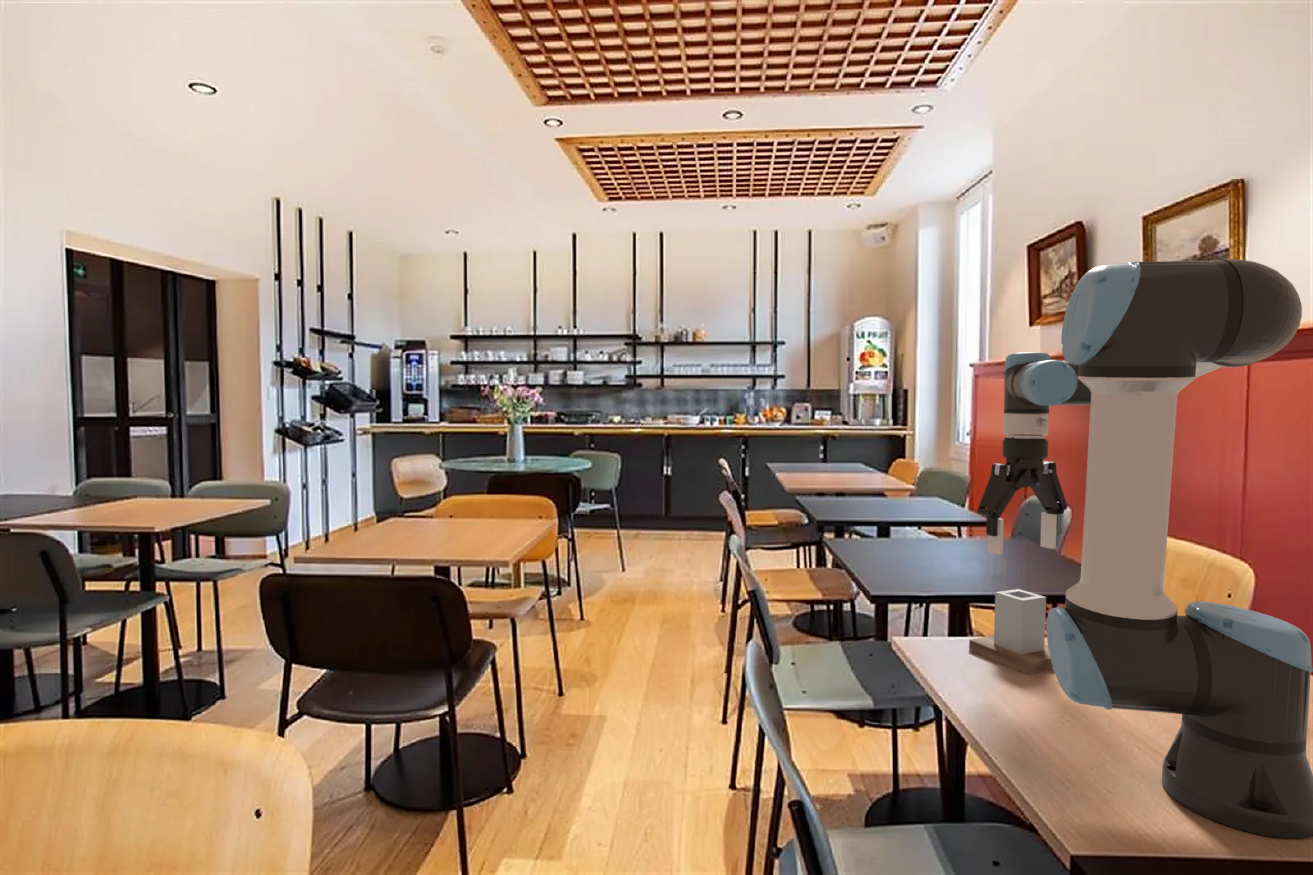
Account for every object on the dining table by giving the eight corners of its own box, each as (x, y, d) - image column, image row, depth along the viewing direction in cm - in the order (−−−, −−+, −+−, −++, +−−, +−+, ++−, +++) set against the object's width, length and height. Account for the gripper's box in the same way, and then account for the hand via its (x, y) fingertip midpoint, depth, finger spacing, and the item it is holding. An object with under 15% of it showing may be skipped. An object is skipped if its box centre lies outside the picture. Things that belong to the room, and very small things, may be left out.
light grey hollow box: (1020, 654, 130) (1022, 600, 130) (993, 644, 136) (995, 592, 135) (1044, 650, 132) (1046, 597, 132) (1016, 639, 138) (1018, 588, 137)
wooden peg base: (1027, 674, 126) (1028, 640, 126) (969, 650, 138) (970, 619, 138) (1070, 665, 130) (1071, 632, 130) (1010, 642, 142) (1011, 612, 142)
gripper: (991, 439, 124) (988, 560, 125) (1091, 436, 133) (1087, 549, 134) (958, 437, 130) (955, 551, 132) (1055, 434, 140) (1051, 541, 141)
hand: (1021, 550), depth 133 cm, fingers open, 13 cm apart
